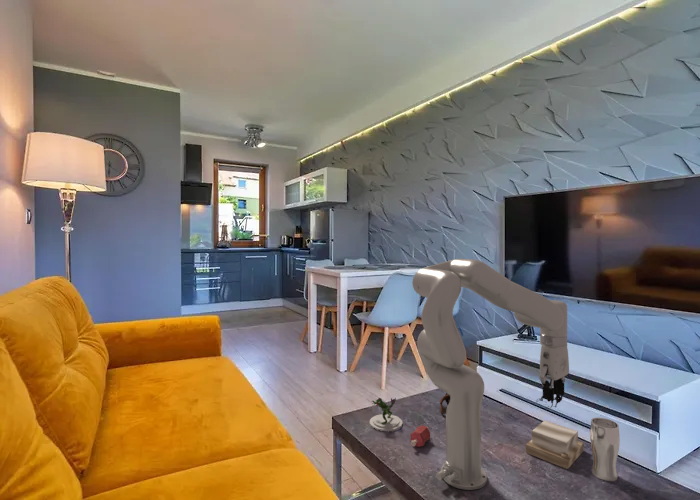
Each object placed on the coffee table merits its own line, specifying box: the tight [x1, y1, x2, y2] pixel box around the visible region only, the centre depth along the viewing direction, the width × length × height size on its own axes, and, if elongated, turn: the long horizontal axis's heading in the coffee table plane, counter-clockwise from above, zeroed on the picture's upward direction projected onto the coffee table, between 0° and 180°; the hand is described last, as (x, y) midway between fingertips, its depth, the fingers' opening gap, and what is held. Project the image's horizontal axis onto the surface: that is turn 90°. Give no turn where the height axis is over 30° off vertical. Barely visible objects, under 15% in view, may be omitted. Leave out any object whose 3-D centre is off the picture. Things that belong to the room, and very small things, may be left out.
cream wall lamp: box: [525, 420, 585, 470], centre depth 121 cm, size 14×12×7 cm
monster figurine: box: [369, 397, 403, 433], centre depth 141 cm, size 12×12×10 cm
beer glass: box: [589, 417, 621, 482], centre depth 109 cm, size 7×7×15 cm
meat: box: [410, 425, 431, 448], centre depth 128 cm, size 12×5×5 cm, turn 145°
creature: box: [536, 387, 565, 410], centre depth 121 cm, size 8×5×8 cm
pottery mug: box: [439, 392, 450, 415], centre depth 150 cm, size 12×10×8 cm
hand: (553, 396), depth 121 cm, fingers closed on creature, 6 cm apart
